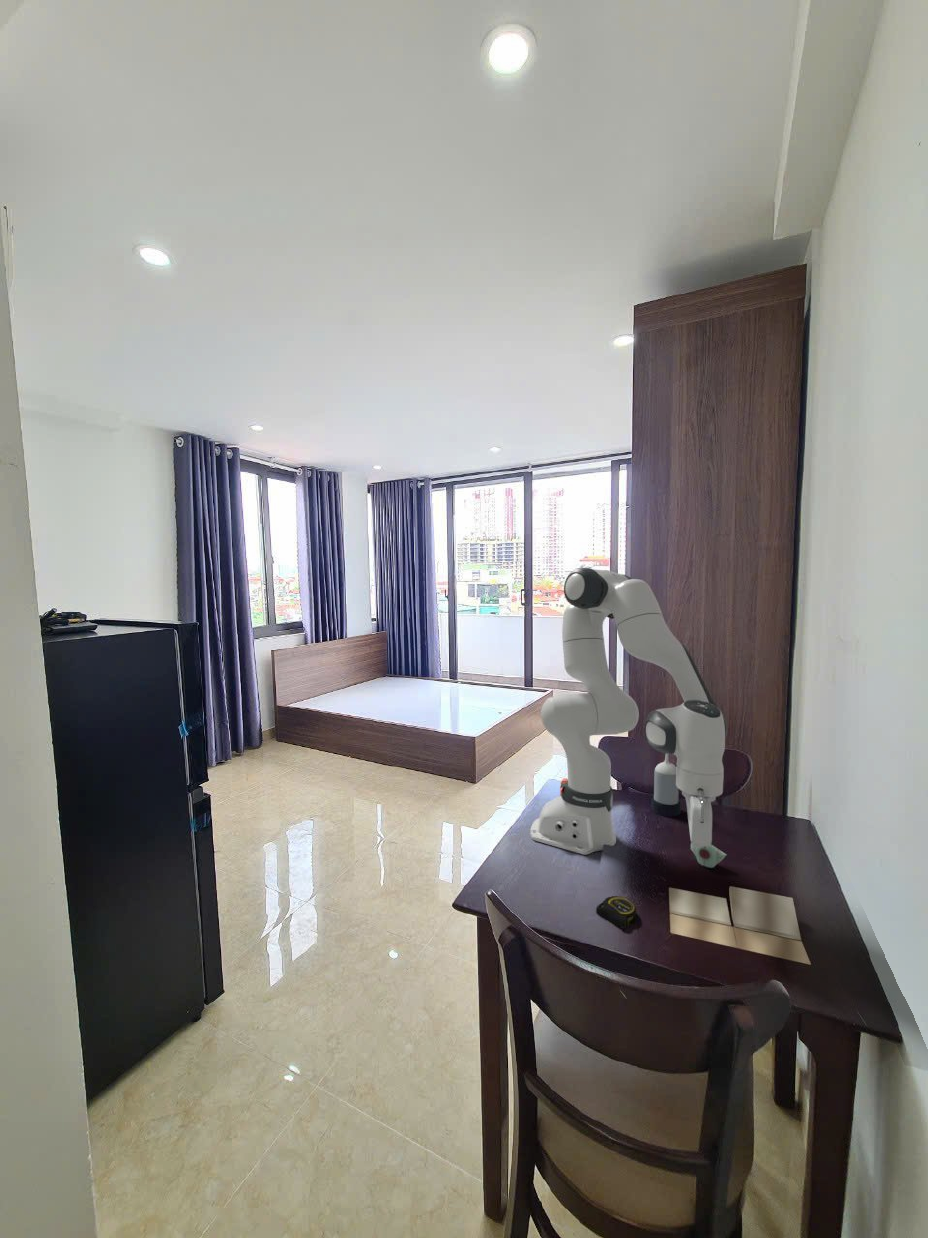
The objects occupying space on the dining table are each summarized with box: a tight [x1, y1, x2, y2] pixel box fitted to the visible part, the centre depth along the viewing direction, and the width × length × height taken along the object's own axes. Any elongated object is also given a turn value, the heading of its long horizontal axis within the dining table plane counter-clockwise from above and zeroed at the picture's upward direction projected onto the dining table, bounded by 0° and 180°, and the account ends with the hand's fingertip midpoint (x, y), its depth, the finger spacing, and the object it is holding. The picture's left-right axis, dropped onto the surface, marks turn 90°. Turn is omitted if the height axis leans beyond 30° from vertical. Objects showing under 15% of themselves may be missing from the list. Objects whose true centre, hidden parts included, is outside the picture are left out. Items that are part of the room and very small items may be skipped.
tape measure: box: [595, 895, 639, 932], centre depth 99 cm, size 7×7×4 cm
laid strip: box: [669, 913, 812, 966], centre depth 93 cm, size 22×6×2 cm, turn 69°
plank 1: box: [668, 887, 732, 927], centre depth 102 cm, size 11×8×2 cm
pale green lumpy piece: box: [690, 842, 728, 869], centre depth 117 cm, size 8×4×7 cm, turn 49°
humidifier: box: [650, 753, 682, 818], centre depth 148 cm, size 8×8×25 cm
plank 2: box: [728, 885, 802, 942], centre depth 97 cm, size 11×8×2 cm
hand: (696, 844), depth 104 cm, fingers closed
